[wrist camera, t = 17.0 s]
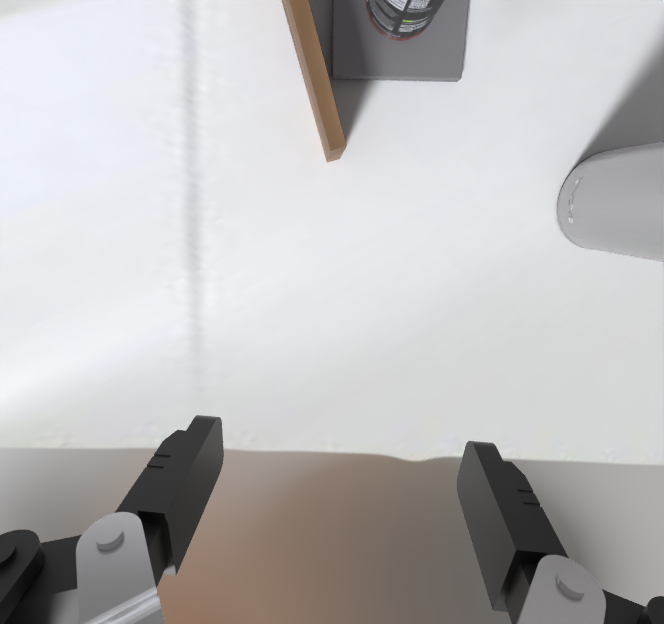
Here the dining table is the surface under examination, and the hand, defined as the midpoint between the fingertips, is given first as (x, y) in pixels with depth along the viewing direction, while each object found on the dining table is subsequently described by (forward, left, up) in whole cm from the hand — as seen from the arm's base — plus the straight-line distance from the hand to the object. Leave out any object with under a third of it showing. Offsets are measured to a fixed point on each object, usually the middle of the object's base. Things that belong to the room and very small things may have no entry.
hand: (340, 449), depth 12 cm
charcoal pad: (-6, -23, -26) cm, 36 cm away
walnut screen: (+2, -20, -26) cm, 33 cm away
